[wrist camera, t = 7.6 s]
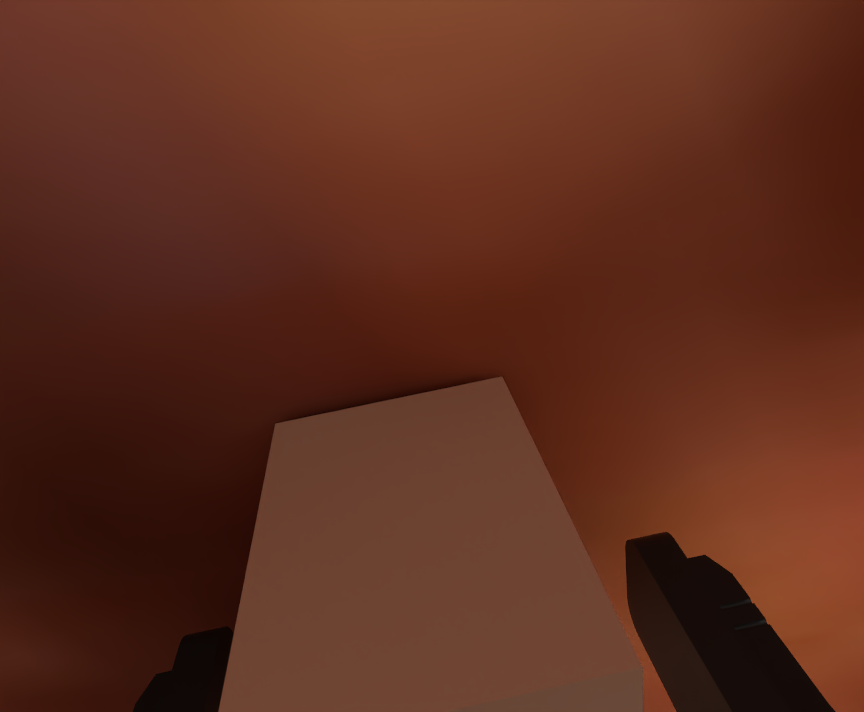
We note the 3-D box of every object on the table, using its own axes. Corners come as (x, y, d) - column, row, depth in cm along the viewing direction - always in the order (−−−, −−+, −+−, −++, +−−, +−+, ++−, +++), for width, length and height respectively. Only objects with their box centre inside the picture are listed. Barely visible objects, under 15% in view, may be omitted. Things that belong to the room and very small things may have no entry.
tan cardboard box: (275, 423, 11) (203, 788, 5) (502, 376, 11) (652, 686, 6) (372, 715, 14) (386, 1111, 9) (542, 676, 14) (657, 1044, 9)
